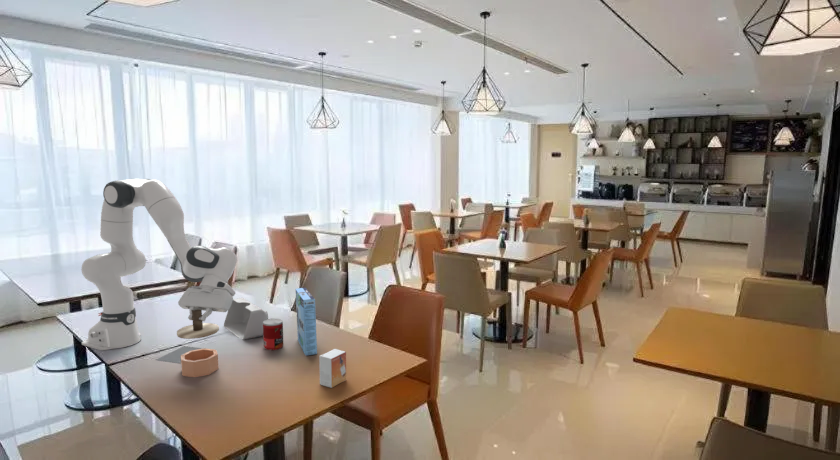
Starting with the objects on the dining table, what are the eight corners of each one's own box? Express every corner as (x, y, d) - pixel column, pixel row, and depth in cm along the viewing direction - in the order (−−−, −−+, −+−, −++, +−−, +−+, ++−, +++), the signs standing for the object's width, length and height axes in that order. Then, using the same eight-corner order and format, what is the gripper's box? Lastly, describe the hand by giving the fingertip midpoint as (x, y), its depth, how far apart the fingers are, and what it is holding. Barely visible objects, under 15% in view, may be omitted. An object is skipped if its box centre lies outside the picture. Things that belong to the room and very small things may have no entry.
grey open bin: (278, 333, 218) (277, 306, 216) (242, 341, 207) (241, 313, 206) (256, 319, 237) (255, 294, 235) (223, 326, 226) (221, 300, 225)
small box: (331, 388, 164) (330, 359, 163) (319, 384, 167) (318, 355, 166) (347, 379, 171) (346, 351, 170) (335, 376, 174) (334, 348, 173)
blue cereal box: (317, 354, 194) (315, 298, 191) (304, 356, 192) (302, 300, 189) (308, 338, 211) (307, 287, 208) (296, 339, 209) (295, 288, 206)
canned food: (278, 351, 197) (277, 325, 195) (260, 349, 198) (259, 323, 197) (286, 344, 204) (286, 319, 203) (269, 342, 206) (268, 317, 204)
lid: (167, 336, 172) (166, 315, 171) (195, 324, 185) (194, 304, 184) (201, 340, 168) (199, 318, 167) (227, 327, 182) (225, 306, 181)
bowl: (174, 375, 174) (173, 359, 173) (197, 362, 185) (197, 347, 184) (202, 379, 171) (201, 363, 170) (224, 365, 182) (224, 350, 181)
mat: (155, 360, 186) (155, 359, 186) (183, 346, 201) (183, 345, 200) (187, 365, 182) (187, 364, 182) (214, 350, 197) (214, 349, 197)
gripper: (184, 281, 184) (167, 313, 176) (231, 284, 179) (215, 318, 171) (194, 289, 189) (177, 321, 181) (239, 293, 183) (224, 326, 175)
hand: (196, 320), depth 176 cm, fingers closed on lid, 3 cm apart
